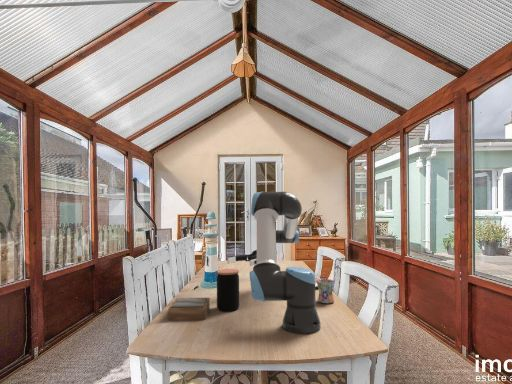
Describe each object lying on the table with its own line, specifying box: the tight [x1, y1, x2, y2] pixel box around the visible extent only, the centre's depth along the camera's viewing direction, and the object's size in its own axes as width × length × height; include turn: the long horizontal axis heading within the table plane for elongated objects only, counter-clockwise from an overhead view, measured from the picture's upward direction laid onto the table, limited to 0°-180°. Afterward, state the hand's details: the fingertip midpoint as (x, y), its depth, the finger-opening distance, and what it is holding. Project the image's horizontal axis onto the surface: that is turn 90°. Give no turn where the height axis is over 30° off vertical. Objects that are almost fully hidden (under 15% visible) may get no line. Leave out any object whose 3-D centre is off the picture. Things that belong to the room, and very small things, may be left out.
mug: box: [316, 278, 336, 304], centre depth 168 cm, size 12×9×11 cm
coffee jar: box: [216, 268, 240, 313], centre depth 158 cm, size 11×11×18 cm
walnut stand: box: [167, 297, 211, 321], centre depth 150 cm, size 16×16×5 cm
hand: (238, 262), depth 167 cm, fingers open, 13 cm apart
